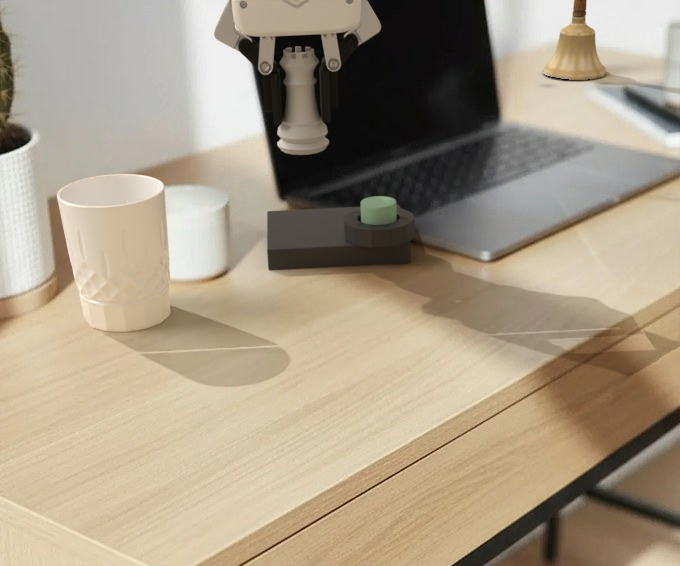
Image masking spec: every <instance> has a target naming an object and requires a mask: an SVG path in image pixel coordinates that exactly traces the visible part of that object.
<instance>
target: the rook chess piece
mask: <svg viewBox="0 0 680 566" xmlns="http://www.w3.org/2000/svg"><path fill="white" fill-rule="evenodd" d="M282 52H283V56H282V57H281V59H280V60H279V65H280V66H281V68H282V69H283V70H284V73H285V78H284V80H283V81H282V82H283V83H282V84H283V85H284V86H285V93H286V95H285V96H286V97H285V106H284V113H283V116H282V123H280V124H279V126H278V127H277V136H278V137H279V138H280V139H279V140H278V141H277V142H276V143H277V144H276V146H277V147H278V149H280V151H281V152H283V153H284V154H288V155H294V156H296V155H297V156H305V155H308V156H309V155H312V154H313V155H314V154H318V153H322V152H324V151H325V150H326V149H327V147H328V145H329V144H330V140H329V139H328V138H327V137H326V136H327V135H328V133H329V131H328V126H327V124H326V123H325V121H322V115H321V113H320V111H319V108H318V102H317V96H316V84H317V82H318V80H317V78H316V77H315V70H316V68H317V67H318V64H319V63H320V60H319V59H318V58H317V56H316V55H315V48H313V47H311V46H304V51H302V46H295V47H294V52H293V48H292V47H291V46H290V47H286V48H285V49H283V51H282Z"/></svg>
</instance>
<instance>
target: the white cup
mask: <svg viewBox="0 0 680 566" xmlns="http://www.w3.org/2000/svg"><path fill="white" fill-rule="evenodd" d="M56 199H57V204H58V210H59V214H60V217H61V218H60V219H61V224H62V228H63V233H64V238H65V244H66V249H67V252H68V253H67V254H68V257H69V261H70V265H71V269H72V274H73V278H74V283H75V285H76V288H77V290H78V292H79V293H78V296H79V300H80V305H81V310H82V316H83V320H84V322H85V323H86V324H87V325H89V326H90V327H91V328H92V329H96V330H98V331H103V332H108V333H129V332H136V331H142V330H147V329H149V328H152V327H154V326H157V325H159V324H162V323H163V322H164V321H165V320H166V319H168V317H170V316H171V296H170V295H171V294H170V281H171V271H170V248H169V247H170V245H169V234H168V233H169V232H168V216H167V215H168V214H167V204H166V203H167V201H166V187H165V183H164V182H162V181H161V180H160V179H158V178H156V177H152V176H149V175H143V174H135V173H116V174H115V173H112V174H103V175H96V176H90V177H85V178H82V179H79V180H75V181H73V182H70V183H68V184H66V185H64V186H63V187H61V188H60V189H58V191H57V193H56Z"/></svg>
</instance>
